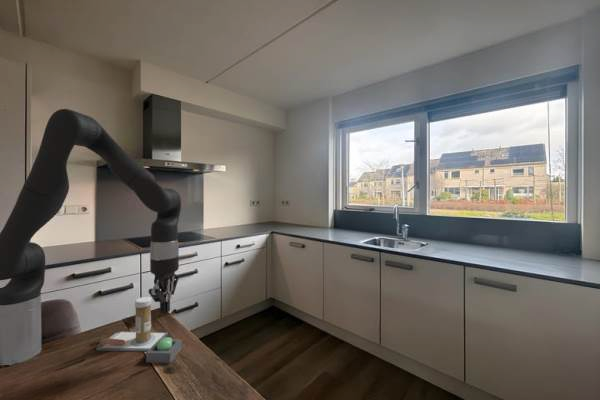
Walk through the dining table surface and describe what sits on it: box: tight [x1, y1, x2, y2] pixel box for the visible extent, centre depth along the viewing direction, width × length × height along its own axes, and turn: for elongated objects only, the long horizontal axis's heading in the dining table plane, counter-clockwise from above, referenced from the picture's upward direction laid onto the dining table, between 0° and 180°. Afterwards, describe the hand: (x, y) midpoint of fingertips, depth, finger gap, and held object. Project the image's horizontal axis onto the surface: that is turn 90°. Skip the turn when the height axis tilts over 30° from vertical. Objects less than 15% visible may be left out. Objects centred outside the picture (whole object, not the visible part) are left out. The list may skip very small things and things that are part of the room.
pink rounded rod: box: [100, 337, 125, 346], centre depth 81 cm, size 7×2×2 cm, turn 90°
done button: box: [157, 336, 173, 351], centre depth 78 cm, size 4×4×3 cm
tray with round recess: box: [95, 330, 169, 353], centre depth 84 cm, size 17×10×1 cm, turn 89°
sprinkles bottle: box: [134, 296, 152, 343], centre depth 84 cm, size 5×5×13 cm
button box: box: [145, 338, 183, 364], centre depth 78 cm, size 7×7×3 cm
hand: (165, 312), depth 77 cm, fingers closed
